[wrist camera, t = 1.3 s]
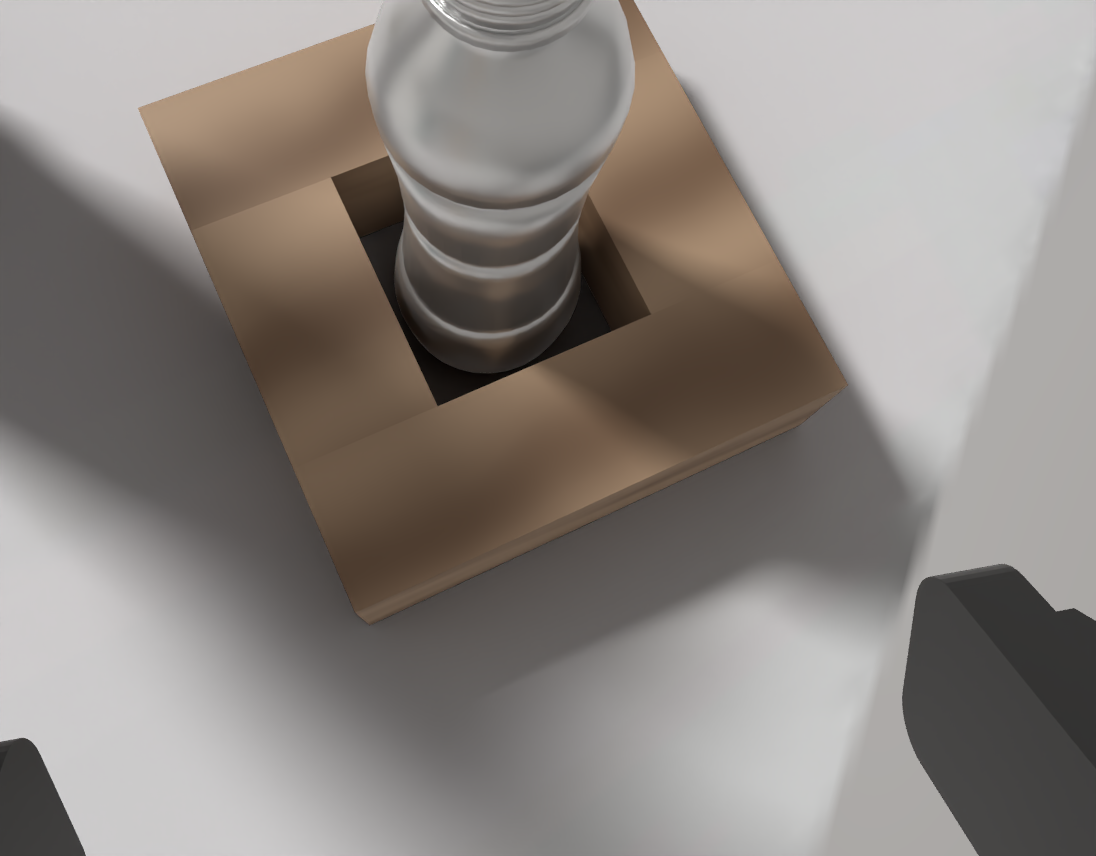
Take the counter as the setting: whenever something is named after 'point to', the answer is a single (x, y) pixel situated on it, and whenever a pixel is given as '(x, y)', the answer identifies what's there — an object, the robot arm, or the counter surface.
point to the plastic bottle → (495, 162)
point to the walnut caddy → (514, 401)
